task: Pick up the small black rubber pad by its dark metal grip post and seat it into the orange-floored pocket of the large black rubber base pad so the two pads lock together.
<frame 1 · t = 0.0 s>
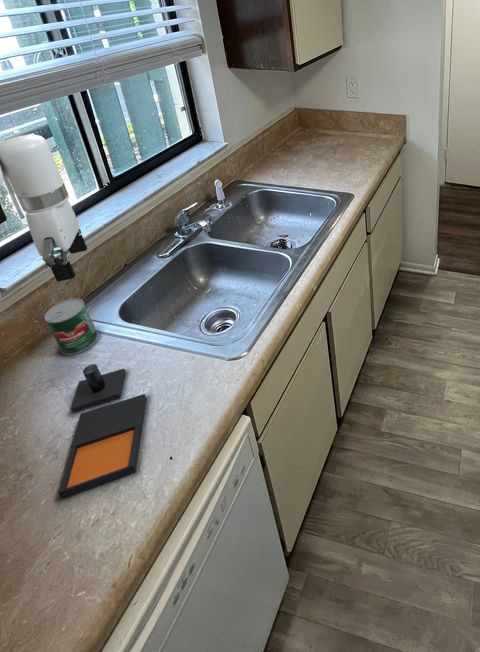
hand: (73, 264, 94), 28 cm above the worktop, tool pointing down, fingers open, 9 cm apart
canned tomato: (80, 342, 111), on the worktop
base pad: (108, 444, 87), on the worktop
black pad: (100, 391, 98), on the worktop
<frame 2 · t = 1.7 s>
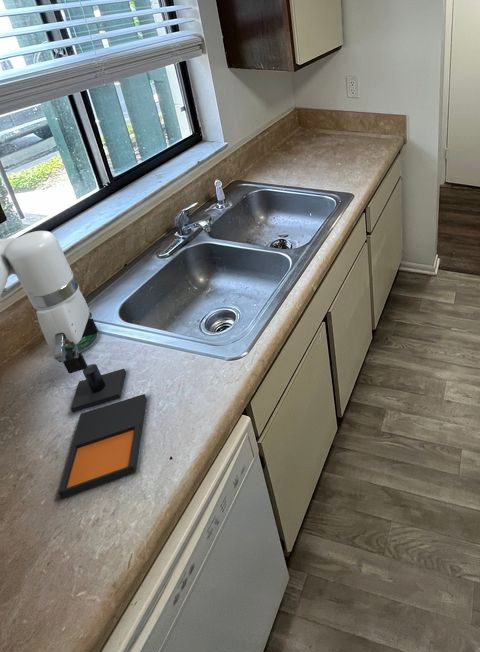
hand: (84, 351, 93), 12 cm above the worktop, tool pointing down, fingers open, 9 cm apart
nothing on the worktop moved.
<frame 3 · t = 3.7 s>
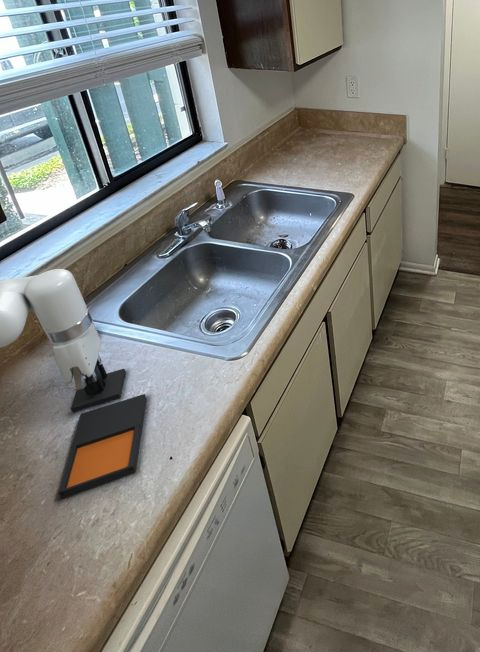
hand: (97, 385, 97), 2 cm above the worktop, tool pointing down, fingers closed on black pad, 2 cm apart
black pad: (100, 391, 98), on the worktop, touching gripper
everything else where it was.
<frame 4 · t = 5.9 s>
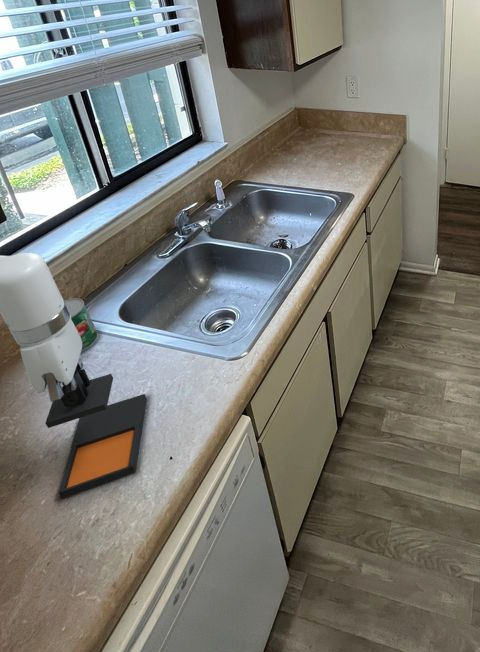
hand: (78, 394, 81), 15 cm above the worktop, tool pointing down, fingers closed on black pad, 2 cm apart
black pad: (82, 401, 82), point 13 cm above the worktop, touching gripper
everything else where it was.
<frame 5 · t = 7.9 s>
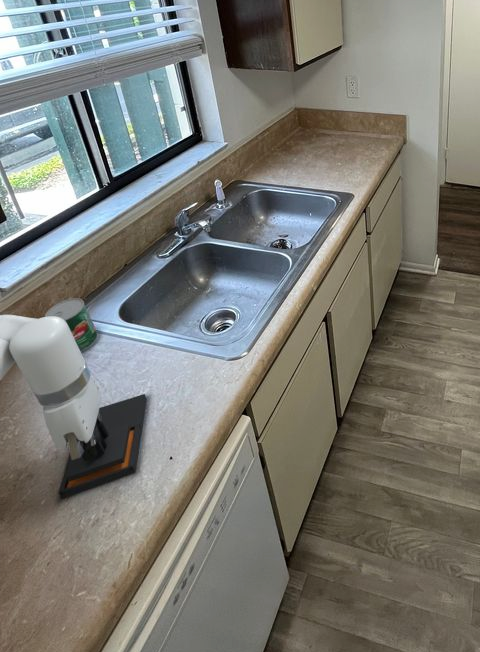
hand: (96, 446, 83), 5 cm above the worktop, tool pointing down, fingers closed on black pad, 2 cm apart
black pad: (100, 453, 83), point 2 cm above the worktop, touching gripper
everything else where it was.
when the fingers open (3 cm above the worktop, at t = 8.6 s): black pad stays where it is, resting on base pad.
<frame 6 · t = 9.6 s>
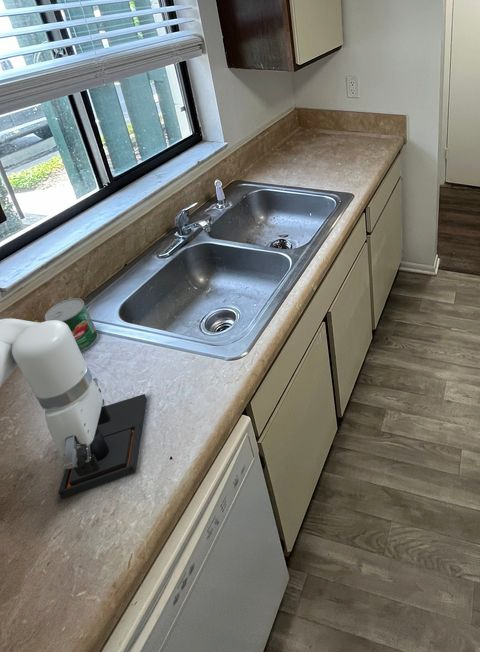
hand: (96, 446, 82), 5 cm above the worktop, tool pointing down, fingers open, 9 cm apart
black pad: (103, 458, 84), point 1 cm above the worktop, touching base pad
everything else where it was.
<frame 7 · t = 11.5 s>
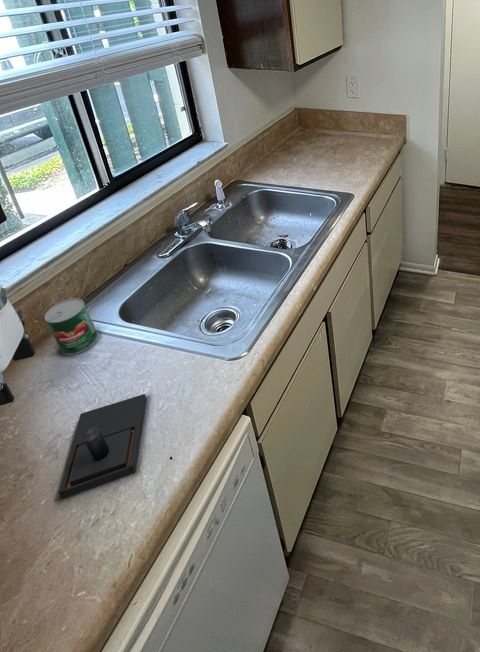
hand: (14, 379, 77), 21 cm above the worktop, tool pointing down, fingers open, 9 cm apart
nothing on the worktop moved.
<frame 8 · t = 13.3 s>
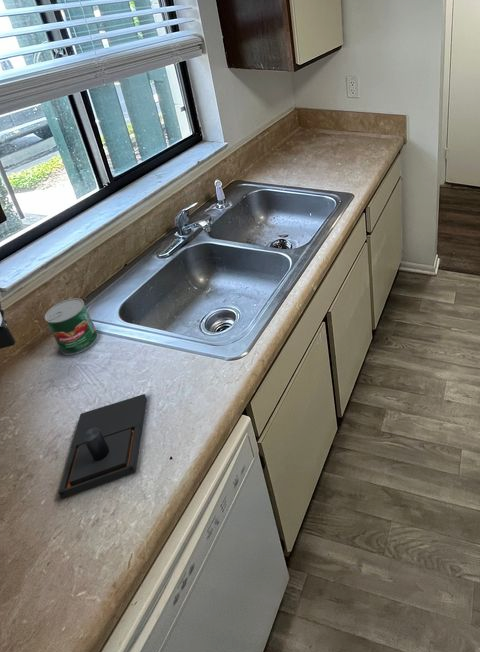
nothing on the worktop moved.
at the end: black pad 0.1 cm from the target spot on the base pad, point 0.9 cm above the base pad's base; black pad tilted 0°; the gripper is holding nothing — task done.
